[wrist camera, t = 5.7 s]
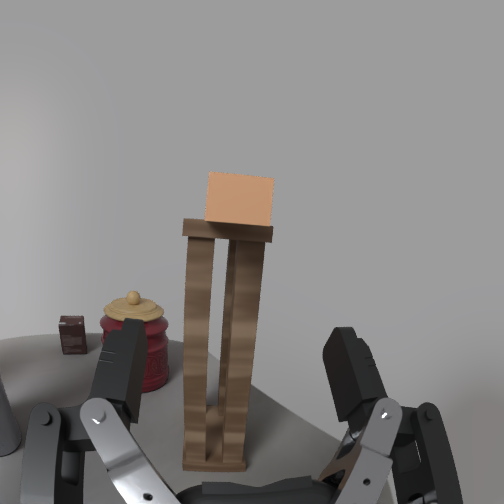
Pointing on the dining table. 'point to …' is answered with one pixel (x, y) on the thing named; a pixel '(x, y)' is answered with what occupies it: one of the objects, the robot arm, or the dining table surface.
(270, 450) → the dining table surface
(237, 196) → the terracotta bar
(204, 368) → the walnut shelf stand
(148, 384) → the canister
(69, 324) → the box
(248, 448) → the dining table surface
